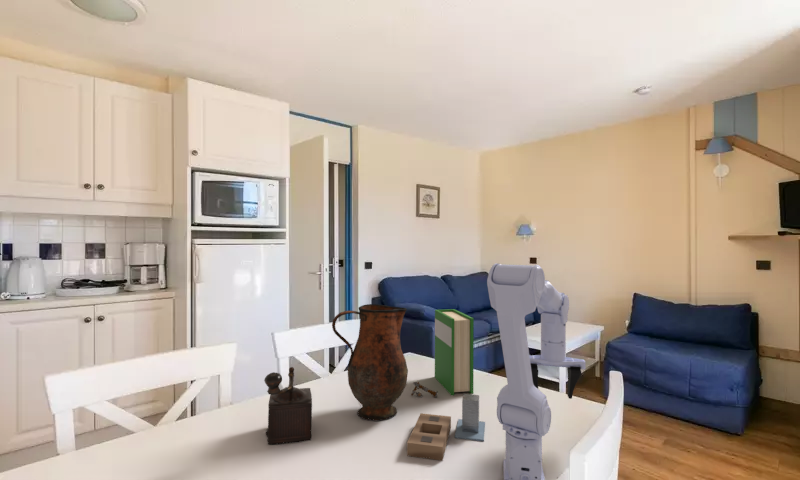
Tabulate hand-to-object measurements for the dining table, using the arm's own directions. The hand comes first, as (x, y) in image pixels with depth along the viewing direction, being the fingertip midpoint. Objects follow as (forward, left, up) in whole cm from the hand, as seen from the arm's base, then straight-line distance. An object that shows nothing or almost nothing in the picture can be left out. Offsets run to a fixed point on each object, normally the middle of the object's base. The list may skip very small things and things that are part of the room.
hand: (553, 395), depth 99 cm
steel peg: (-1, +20, -10) cm, 22 cm away
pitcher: (+2, +48, -11) cm, 49 cm away
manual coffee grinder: (-16, +63, -11) cm, 66 cm away
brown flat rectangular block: (-9, +29, -10) cm, 32 cm away
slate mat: (-1, +20, -10) cm, 23 cm away
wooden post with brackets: (+18, +35, -11) cm, 41 cm away
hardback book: (+31, +28, -11) cm, 43 cm away
